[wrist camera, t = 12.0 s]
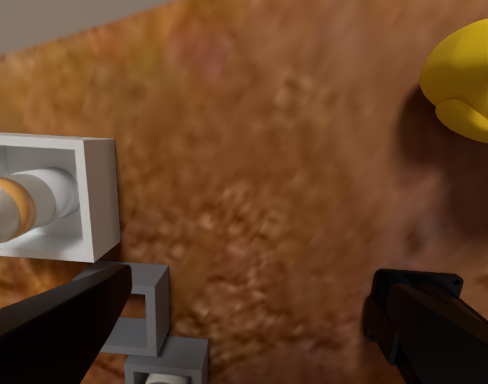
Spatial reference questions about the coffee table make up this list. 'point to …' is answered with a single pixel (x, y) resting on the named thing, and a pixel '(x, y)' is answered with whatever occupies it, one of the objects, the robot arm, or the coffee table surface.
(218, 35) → the coffee table surface
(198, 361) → the grey boxy piece
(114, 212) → the tray
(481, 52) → the duckling
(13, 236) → the white bulb-shaped piece
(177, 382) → the white dome piece
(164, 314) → the grey square frame
